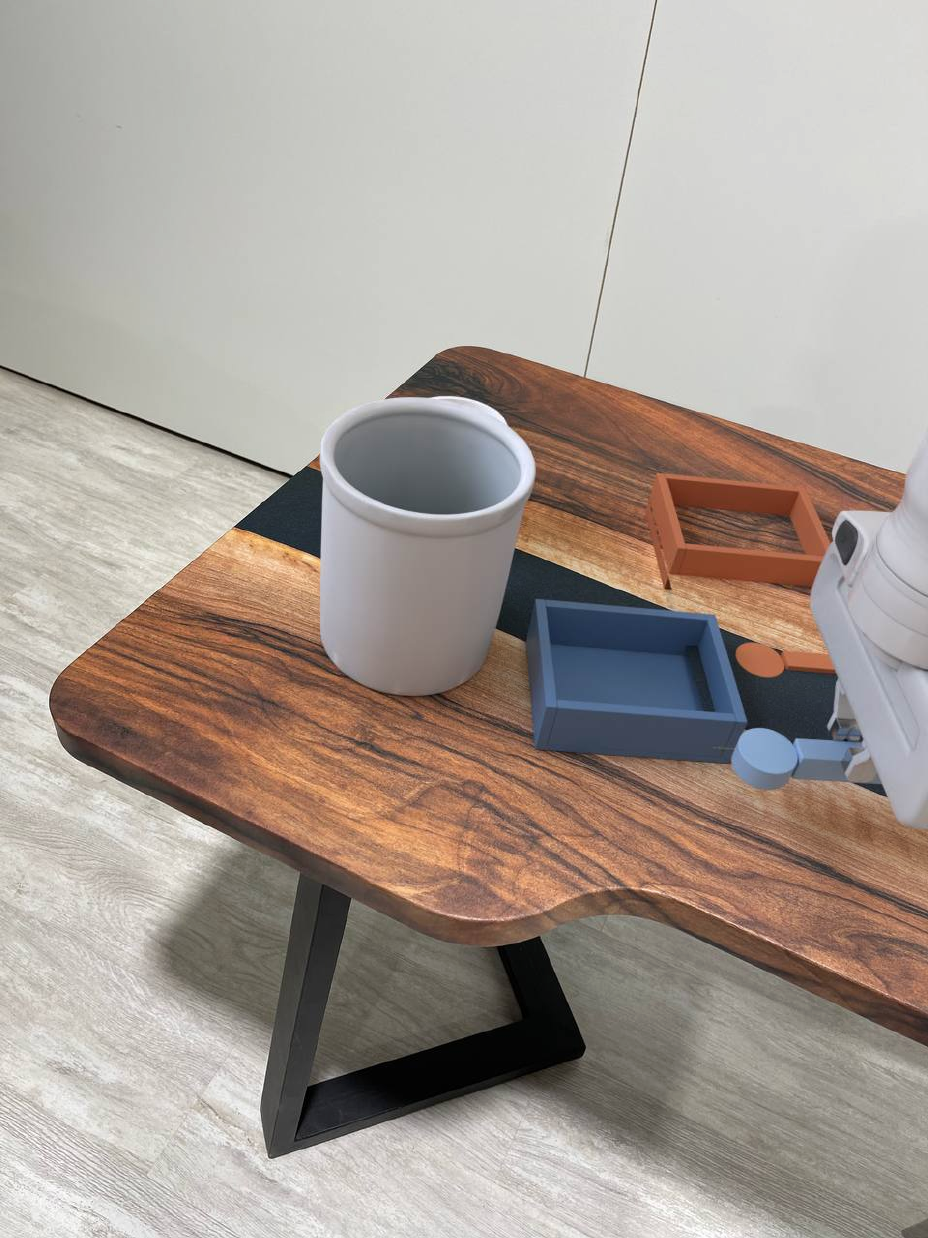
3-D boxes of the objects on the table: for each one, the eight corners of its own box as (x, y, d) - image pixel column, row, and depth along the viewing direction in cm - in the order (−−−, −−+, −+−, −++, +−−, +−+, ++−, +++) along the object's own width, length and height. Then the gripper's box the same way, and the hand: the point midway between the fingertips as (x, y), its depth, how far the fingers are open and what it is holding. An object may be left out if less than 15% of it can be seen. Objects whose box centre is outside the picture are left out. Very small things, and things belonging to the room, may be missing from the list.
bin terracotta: (788, 525, 100) (805, 487, 97) (821, 602, 91) (840, 563, 88) (644, 511, 99) (656, 472, 96) (664, 588, 90) (677, 547, 87)
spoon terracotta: (850, 666, 85) (860, 648, 84) (865, 701, 82) (876, 682, 81) (724, 656, 84) (732, 636, 83) (734, 690, 81) (743, 671, 80)
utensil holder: (517, 699, 77) (561, 514, 66) (322, 711, 74) (332, 517, 62) (477, 575, 88) (509, 397, 76) (304, 580, 85) (310, 394, 73)
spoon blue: (877, 752, 71) (889, 731, 70) (896, 798, 68) (909, 777, 67) (725, 743, 70) (734, 721, 69) (738, 789, 67) (747, 767, 66)
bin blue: (699, 655, 84) (715, 614, 81) (728, 764, 75) (747, 722, 72) (525, 640, 83) (535, 598, 79) (534, 749, 74) (546, 706, 71)
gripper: (1066, 739, 52) (950, 891, 61) (922, 503, 67) (847, 654, 76) (948, 732, 51) (849, 887, 60) (830, 496, 66) (765, 648, 75)
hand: (847, 755), depth 68 cm, fingers closed on spoon blue, 2 cm apart
